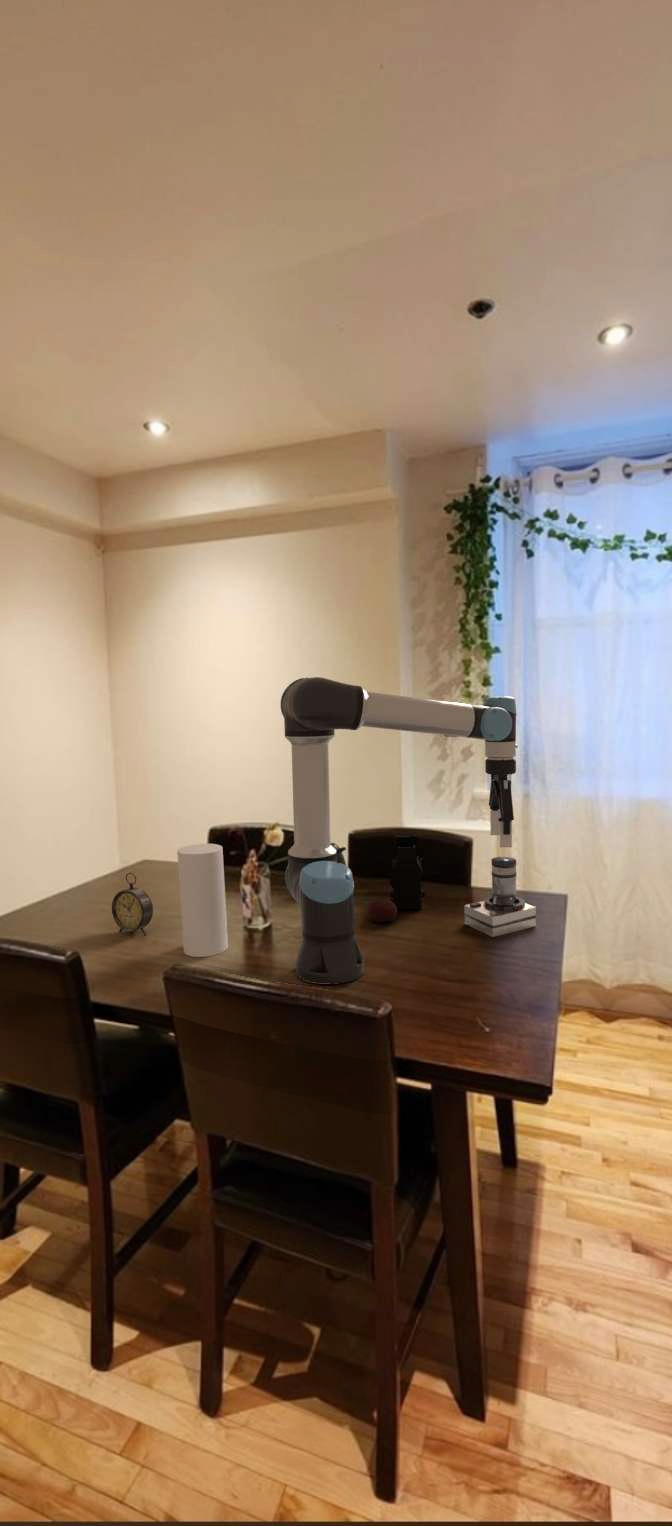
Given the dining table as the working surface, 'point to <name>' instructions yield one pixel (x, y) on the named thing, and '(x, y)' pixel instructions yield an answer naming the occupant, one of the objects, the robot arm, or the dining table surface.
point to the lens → (503, 880)
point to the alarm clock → (132, 909)
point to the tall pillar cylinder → (202, 899)
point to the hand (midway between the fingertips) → (500, 840)
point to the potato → (382, 910)
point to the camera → (407, 874)
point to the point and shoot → (499, 916)
